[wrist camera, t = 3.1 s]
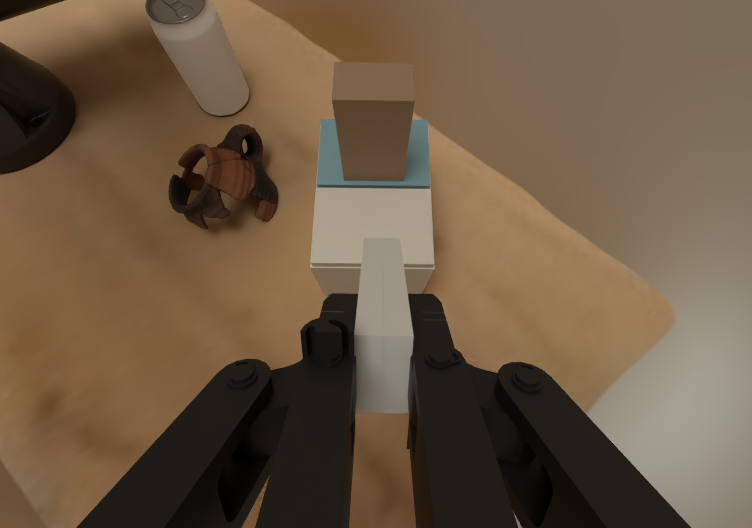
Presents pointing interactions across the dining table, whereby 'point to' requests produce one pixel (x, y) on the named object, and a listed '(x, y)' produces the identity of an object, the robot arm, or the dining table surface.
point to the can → (200, 53)
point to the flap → (373, 130)
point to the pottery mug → (224, 178)
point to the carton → (370, 233)
